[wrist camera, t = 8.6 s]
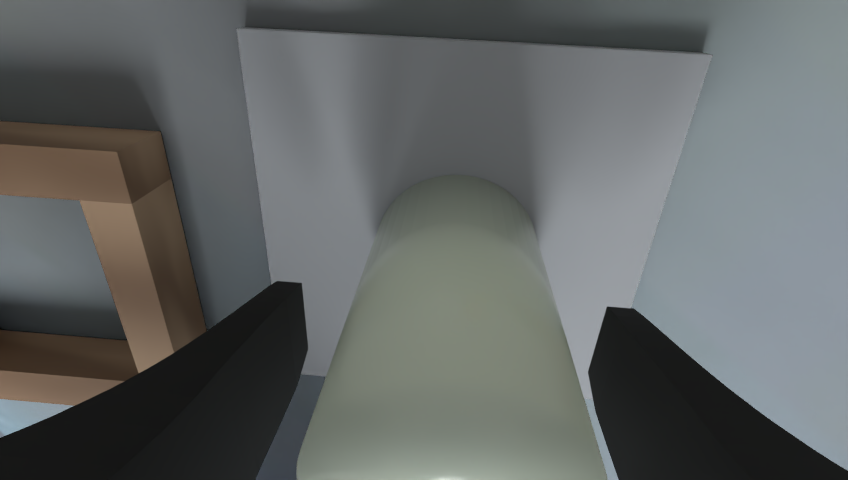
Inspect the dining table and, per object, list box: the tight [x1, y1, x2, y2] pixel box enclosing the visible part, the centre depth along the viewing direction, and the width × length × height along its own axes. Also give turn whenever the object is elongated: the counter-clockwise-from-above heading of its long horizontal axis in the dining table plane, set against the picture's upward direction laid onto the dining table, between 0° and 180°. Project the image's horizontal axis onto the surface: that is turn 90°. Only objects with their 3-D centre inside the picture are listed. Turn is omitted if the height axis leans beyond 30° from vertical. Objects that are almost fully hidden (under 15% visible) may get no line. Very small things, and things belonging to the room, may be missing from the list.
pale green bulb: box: [296, 175, 607, 480], centre depth 11 cm, size 5×5×8 cm
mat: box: [236, 27, 713, 399], centre depth 15 cm, size 12×12×1 cm
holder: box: [0, 121, 207, 405], centre depth 16 cm, size 10×10×2 cm
